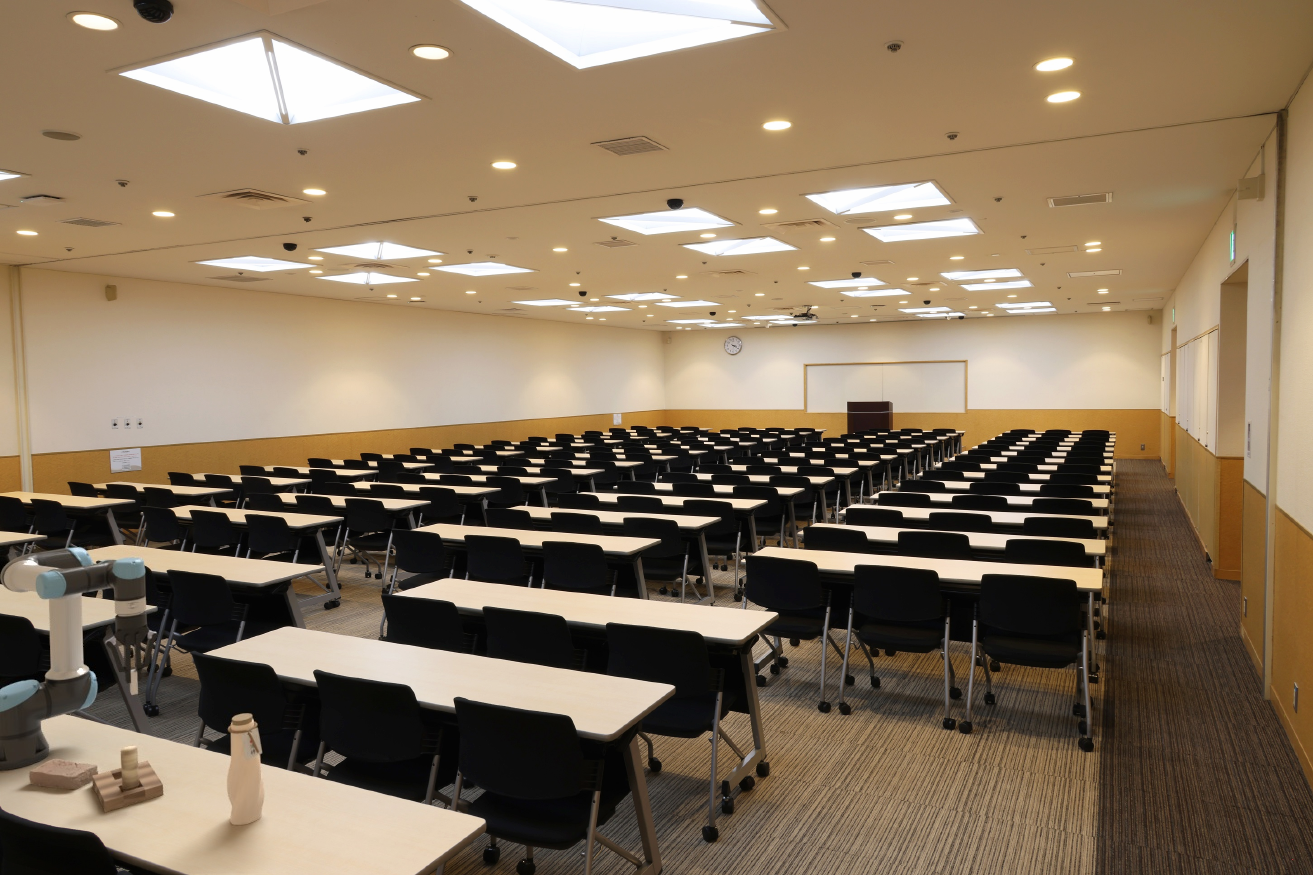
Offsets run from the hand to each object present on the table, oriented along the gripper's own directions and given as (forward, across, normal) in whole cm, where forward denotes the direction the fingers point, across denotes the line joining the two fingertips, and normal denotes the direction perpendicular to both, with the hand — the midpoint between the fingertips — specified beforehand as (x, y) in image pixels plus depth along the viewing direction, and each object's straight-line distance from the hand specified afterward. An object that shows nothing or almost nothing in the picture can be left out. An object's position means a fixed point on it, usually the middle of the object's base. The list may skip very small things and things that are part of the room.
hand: (134, 692), depth 236 cm
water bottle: (+28, +19, -39) cm, 52 cm away
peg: (+29, -2, -4) cm, 29 cm away
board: (+29, -2, +1) cm, 29 cm away
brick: (+30, -15, +20) cm, 39 cm away
